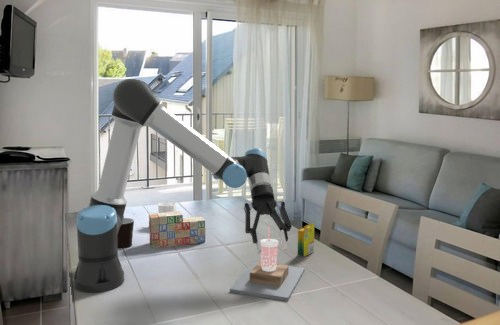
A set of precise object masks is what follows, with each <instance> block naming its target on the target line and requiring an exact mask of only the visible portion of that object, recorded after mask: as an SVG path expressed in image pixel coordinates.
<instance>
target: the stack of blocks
mask: <svg viewBox="0 0 500 325" xmlns="http://www.w3.org/2000/svg"><path fill="white" fill-rule="evenodd" d="M148 220H149V221H148V229H149V244H150V246H151V248H154V249H155V248H164V247H166V248H167V247H175V246H183V245H184V246H185V245H192V244H205V243H206V219H204V218H203V217H202V216H193V217H192V216H191V217H184V215H183V214H182V213H181V212H180V210H179V211H178V210H177V211H176V212H165V213H159V212H158V213H157V212H154V213H153V212H152V213H148Z"/></svg>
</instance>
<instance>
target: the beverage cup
mask: <svg viewBox="0 0 500 325" xmlns="http://www.w3.org/2000/svg"><path fill="white" fill-rule="evenodd" d="M267 228H268V230H267V231H268V232H267V233H268V234H267V235H268V237H267V238H263V239H260V242H261V248H262V251H261V254H260V262H261V266H262V270H263V271H268V272H270V271H275V270H276V264H278V263H277V260H278V248H279V247H278V246H279V243H280V241H279V240H278V239H274V238H271V236H270V234H271V226H270V225H268V226H267Z"/></svg>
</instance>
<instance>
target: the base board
mask: <svg viewBox="0 0 500 325" xmlns="http://www.w3.org/2000/svg"><path fill="white" fill-rule="evenodd" d="M258 262H259V261H258ZM258 262H257V261H252V263H251V265H250V266H248V267H247V269H246V270H245V271H244V272H243V273H242V274H241V275H240V277H239V278H238V279H237V280H236V281H235V282H234V283H233V285H232V286H231V287H230V288H229V292H230V293H234V294H241V295H248V296H252V297H253V296H254V297H260V298H266V299H272V300H273V299H274V300H279V301H286V302H289V300H290V298H291V297H292V295H293V293H294V291H295V289H296V288H297V285H298V284H299V283H300V281H301V279H302V277H303V275H304V273H305V268H304V267H298V266H289V267H288V276H287V277H286V279H285V280H284V282H283V283H282V285H281V286H275V285H268V284H261V283H254V282H250V272H251V271H252V269H253V268H254V267H255V266H256V265H257V264H258Z"/></svg>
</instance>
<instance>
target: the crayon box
mask: <svg viewBox="0 0 500 325" xmlns="http://www.w3.org/2000/svg"><path fill="white" fill-rule="evenodd" d="M313 253H315V222H312V223H309V224H306V225H305V226H303V228H300V229H298V230H297V256H298V257H303V258H305V257H306V256H309V255H311V254H313Z"/></svg>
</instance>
